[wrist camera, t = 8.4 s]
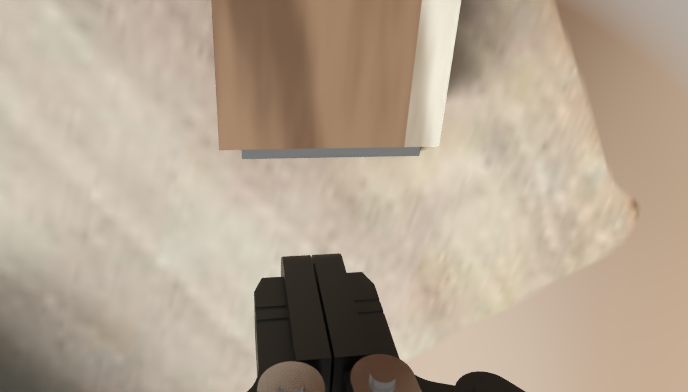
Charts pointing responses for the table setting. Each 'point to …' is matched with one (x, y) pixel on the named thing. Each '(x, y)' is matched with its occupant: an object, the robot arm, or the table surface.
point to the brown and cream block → (332, 72)
